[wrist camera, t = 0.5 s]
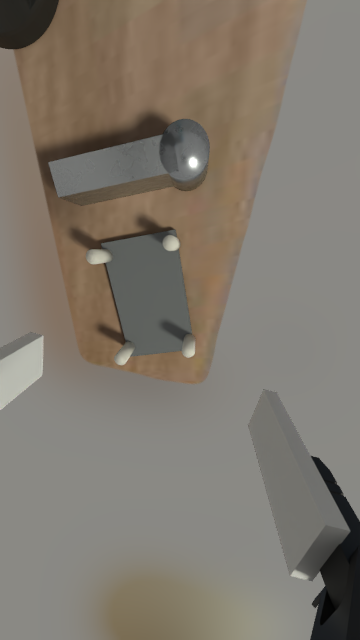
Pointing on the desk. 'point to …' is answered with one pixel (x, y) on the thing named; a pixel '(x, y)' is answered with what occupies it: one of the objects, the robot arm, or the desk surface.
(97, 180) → the grey ball-ended handle
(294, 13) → the desk surface
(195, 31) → the desk surface
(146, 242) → the pad
